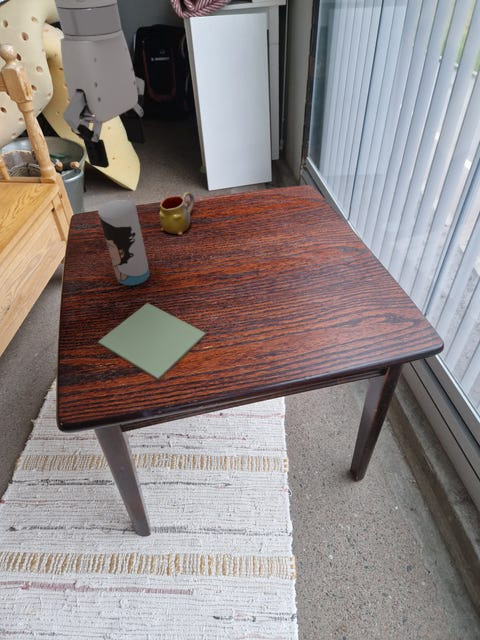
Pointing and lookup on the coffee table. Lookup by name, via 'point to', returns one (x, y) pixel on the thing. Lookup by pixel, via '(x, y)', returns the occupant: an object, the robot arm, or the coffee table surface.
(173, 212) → the mug
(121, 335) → the mat
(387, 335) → the coffee table surface
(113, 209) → the cup
